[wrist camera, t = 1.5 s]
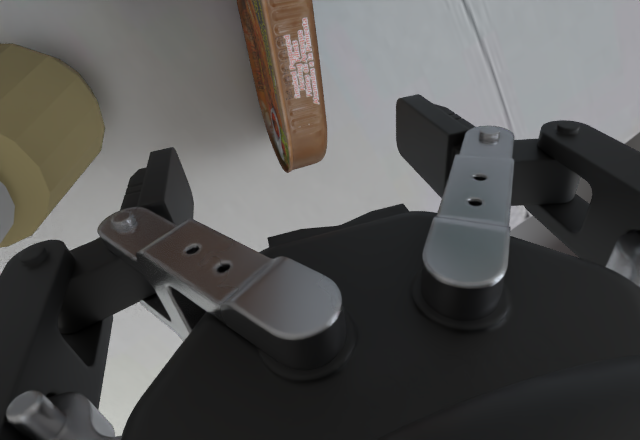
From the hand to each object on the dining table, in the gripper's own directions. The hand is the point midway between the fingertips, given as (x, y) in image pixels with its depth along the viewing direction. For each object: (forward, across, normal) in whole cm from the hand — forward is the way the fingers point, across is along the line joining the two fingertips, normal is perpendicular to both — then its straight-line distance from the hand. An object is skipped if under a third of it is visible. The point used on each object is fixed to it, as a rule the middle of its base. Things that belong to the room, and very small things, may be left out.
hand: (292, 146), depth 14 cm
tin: (+16, -1, -1) cm, 16 cm away
